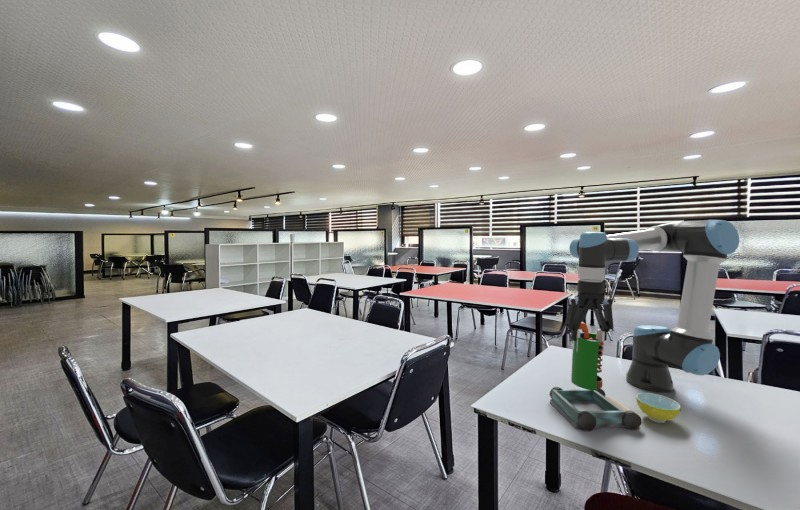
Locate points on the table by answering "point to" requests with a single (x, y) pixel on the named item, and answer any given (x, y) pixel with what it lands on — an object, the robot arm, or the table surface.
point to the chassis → (592, 409)
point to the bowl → (658, 407)
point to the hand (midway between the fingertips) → (588, 350)
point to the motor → (587, 360)
